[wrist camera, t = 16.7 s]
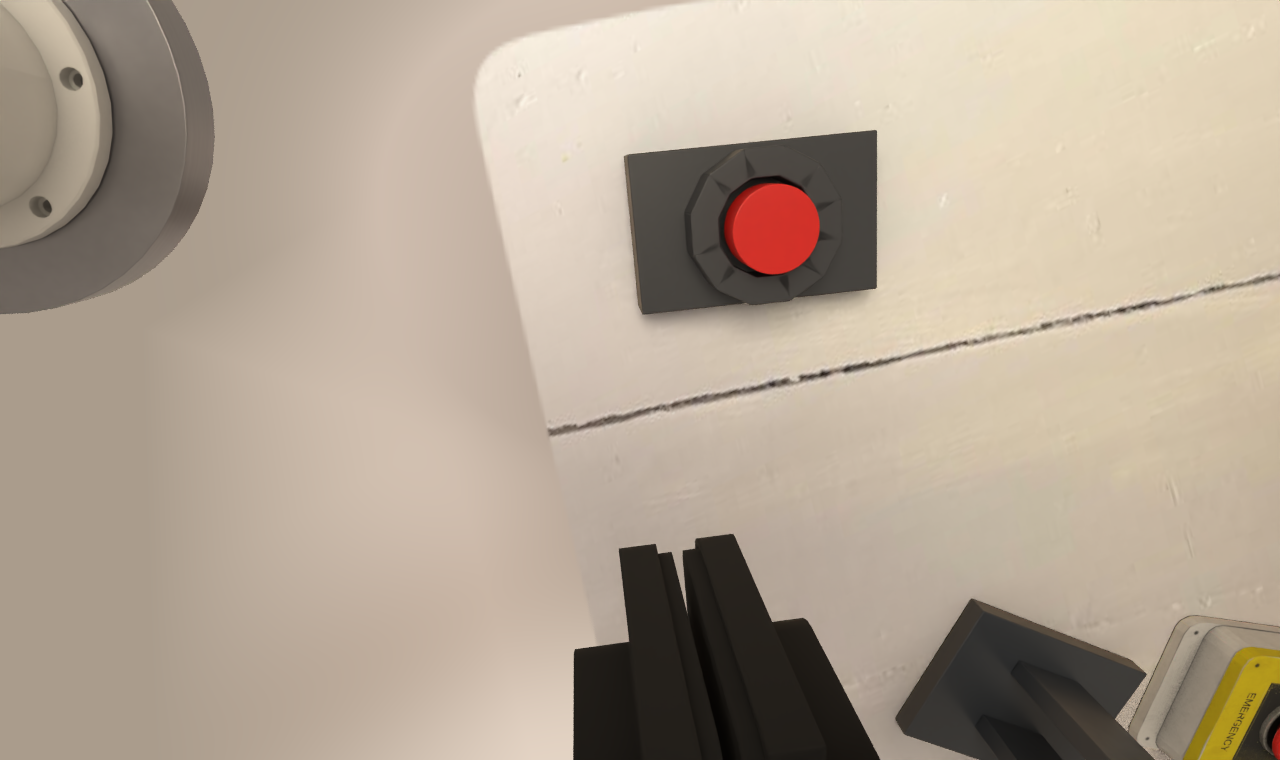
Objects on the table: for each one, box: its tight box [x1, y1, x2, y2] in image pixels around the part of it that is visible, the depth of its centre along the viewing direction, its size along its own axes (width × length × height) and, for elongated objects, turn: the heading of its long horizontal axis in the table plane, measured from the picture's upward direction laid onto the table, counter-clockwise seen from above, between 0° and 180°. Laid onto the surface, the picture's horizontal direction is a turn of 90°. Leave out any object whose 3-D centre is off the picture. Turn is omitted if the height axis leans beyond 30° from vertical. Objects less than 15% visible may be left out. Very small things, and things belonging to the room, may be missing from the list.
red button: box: [724, 183, 820, 274], centre depth 29 cm, size 4×4×2 cm
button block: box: [624, 130, 877, 314], centre depth 32 cm, size 11×7×4 cm, turn 95°
